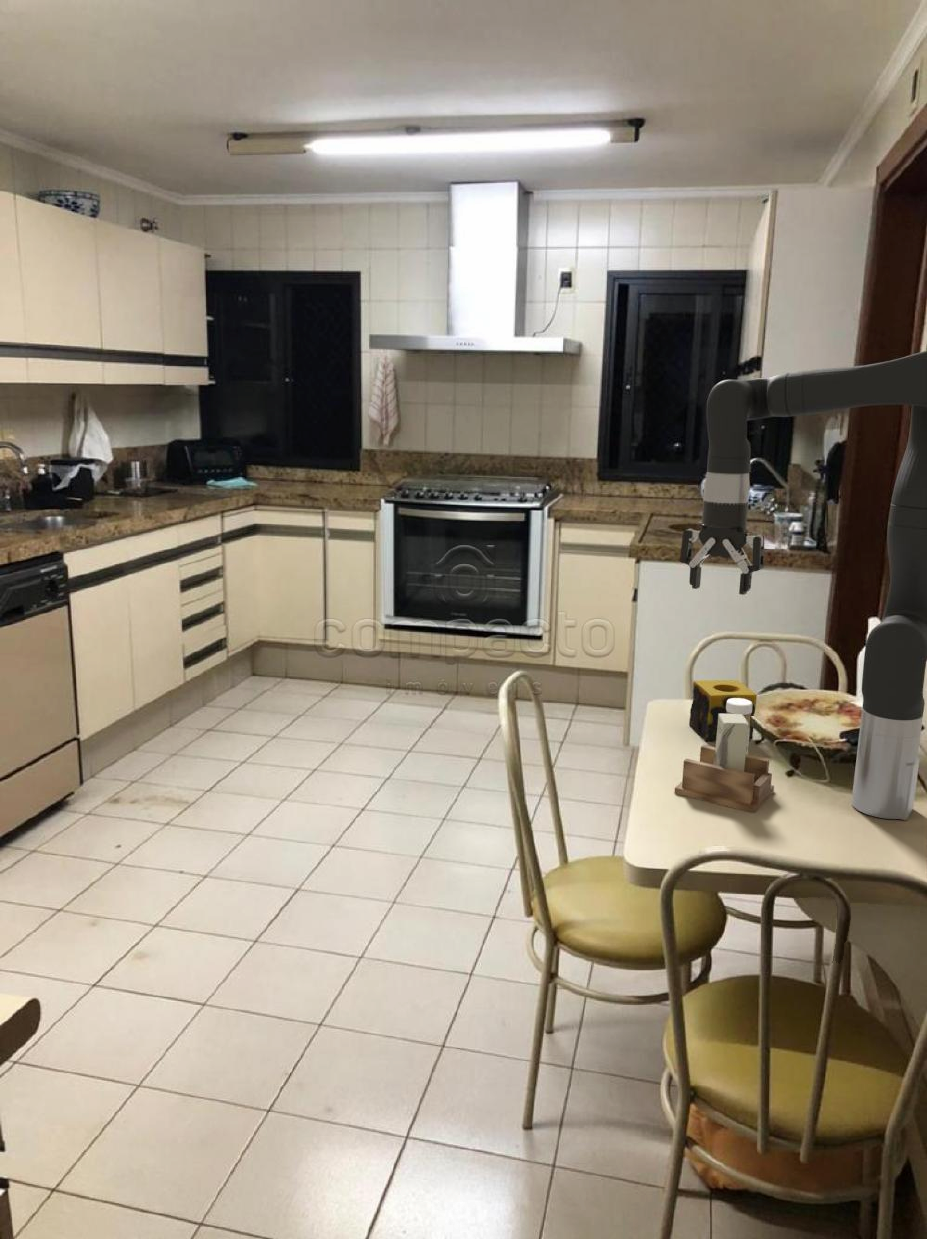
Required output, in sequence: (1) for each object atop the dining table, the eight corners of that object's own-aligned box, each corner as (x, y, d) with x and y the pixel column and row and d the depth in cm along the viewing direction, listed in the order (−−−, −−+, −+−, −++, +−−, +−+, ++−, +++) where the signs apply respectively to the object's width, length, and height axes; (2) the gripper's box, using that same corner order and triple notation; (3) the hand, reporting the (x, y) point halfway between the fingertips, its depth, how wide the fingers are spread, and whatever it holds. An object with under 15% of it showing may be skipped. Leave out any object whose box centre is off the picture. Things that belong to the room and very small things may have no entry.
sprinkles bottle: (731, 763, 181) (736, 695, 178) (751, 770, 178) (757, 701, 175) (716, 769, 179) (721, 700, 175) (737, 776, 175) (742, 706, 172)
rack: (773, 791, 169) (776, 759, 168) (753, 813, 160) (756, 779, 159) (697, 773, 177) (699, 742, 175) (674, 793, 168) (676, 760, 166)
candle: (688, 725, 202) (691, 680, 200) (734, 724, 203) (738, 679, 201) (705, 742, 192) (708, 695, 190) (753, 741, 193) (757, 694, 191)
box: (711, 781, 171) (717, 712, 168) (736, 782, 170) (742, 713, 167) (717, 793, 165) (723, 722, 162) (743, 794, 165) (749, 723, 162)
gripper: (773, 500, 165) (765, 592, 168) (694, 494, 172) (688, 582, 176) (760, 503, 159) (752, 599, 162) (678, 497, 166) (672, 589, 170)
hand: (719, 590), depth 169 cm, fingers open, 8 cm apart
